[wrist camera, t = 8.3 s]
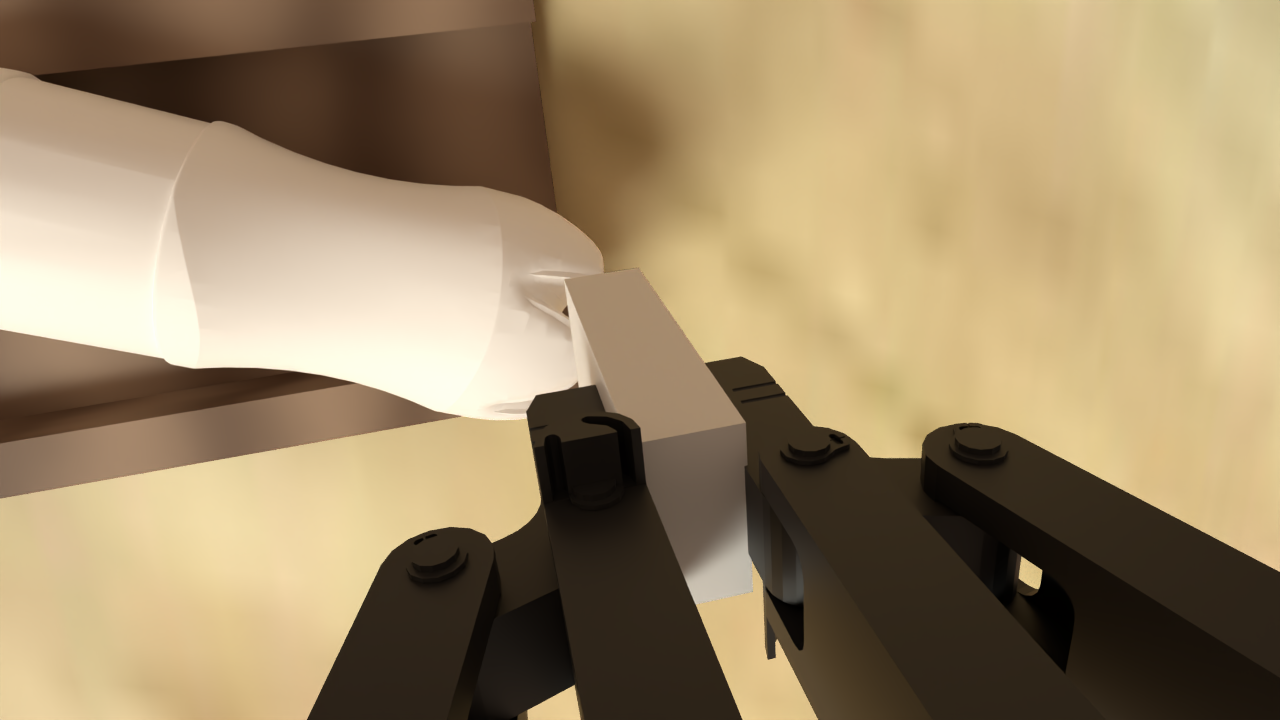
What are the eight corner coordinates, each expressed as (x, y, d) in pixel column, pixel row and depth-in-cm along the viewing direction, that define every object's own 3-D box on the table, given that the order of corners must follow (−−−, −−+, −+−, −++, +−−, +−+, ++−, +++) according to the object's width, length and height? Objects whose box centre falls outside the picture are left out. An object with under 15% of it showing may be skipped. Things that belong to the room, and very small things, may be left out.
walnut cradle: (518, -47, 27) (526, -51, 25) (575, 362, 34) (586, 394, 31) (-316, 32, 24) (-414, 37, 21) (-76, 473, 30) (-128, 520, 27)
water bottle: (631, 217, 23) (-540, -80, 17) (575, 460, 24) (-565, 267, 17) (587, 218, 30) (-253, 8, 24) (545, 406, 31) (-281, 254, 24)
